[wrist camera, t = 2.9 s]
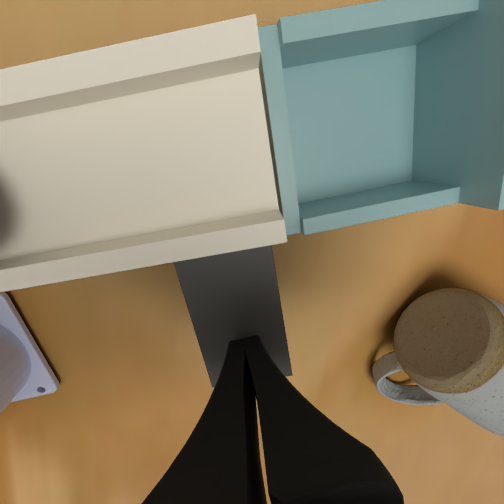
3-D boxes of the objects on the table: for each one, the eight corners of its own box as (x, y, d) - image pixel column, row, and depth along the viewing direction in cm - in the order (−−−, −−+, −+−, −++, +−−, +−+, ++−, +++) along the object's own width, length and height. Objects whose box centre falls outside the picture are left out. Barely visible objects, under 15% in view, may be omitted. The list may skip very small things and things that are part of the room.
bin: (272, 220, 17) (300, 252, 11) (247, 58, 14) (268, -11, 8) (417, 190, 17) (515, 206, 11) (424, 28, 14) (562, -59, 8)
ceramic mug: (432, 263, 19) (559, 329, 12) (498, 309, 21) (637, 388, 14) (342, 366, 22) (401, 472, 14) (409, 398, 24) (489, 503, 17)
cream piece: (45, 397, 14) (-14, 469, 11) (-123, 128, 10) (-311, 116, 6) (298, 358, 14) (314, 423, 11) (253, 49, 9) (257, -9, 6)
